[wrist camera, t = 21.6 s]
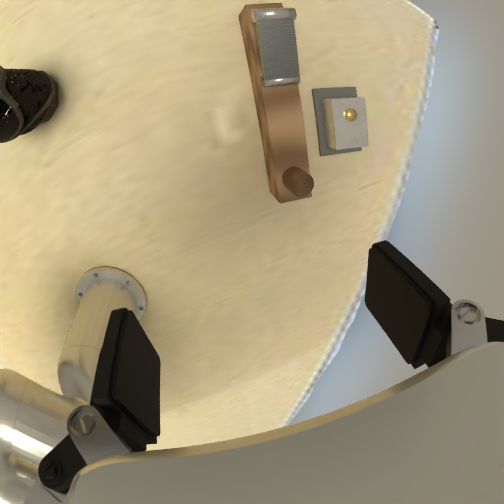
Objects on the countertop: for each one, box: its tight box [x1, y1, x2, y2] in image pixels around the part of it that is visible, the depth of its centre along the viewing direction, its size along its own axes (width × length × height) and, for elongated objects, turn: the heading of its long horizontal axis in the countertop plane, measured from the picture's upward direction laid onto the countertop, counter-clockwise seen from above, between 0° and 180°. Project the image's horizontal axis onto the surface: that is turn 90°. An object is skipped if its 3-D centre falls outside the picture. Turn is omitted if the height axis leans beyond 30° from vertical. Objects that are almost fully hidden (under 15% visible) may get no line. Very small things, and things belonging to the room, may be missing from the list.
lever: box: [251, 8, 300, 86], centre depth 25 cm, size 2×5×10 cm
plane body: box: [239, 3, 314, 203], centre depth 30 cm, size 26×4×8 cm, turn 10°
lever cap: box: [320, 97, 368, 150], centre depth 35 cm, size 7×5×4 cm
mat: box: [312, 87, 362, 156], centre depth 37 cm, size 10×7×1 cm
